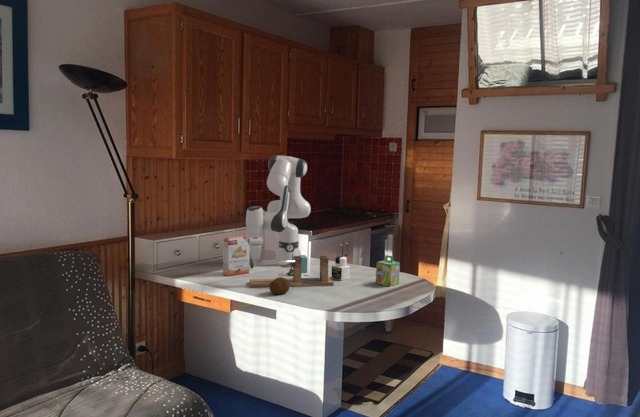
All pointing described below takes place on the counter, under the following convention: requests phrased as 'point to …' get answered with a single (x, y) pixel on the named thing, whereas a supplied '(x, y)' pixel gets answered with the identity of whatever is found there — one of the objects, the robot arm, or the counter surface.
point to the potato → (279, 285)
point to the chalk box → (387, 272)
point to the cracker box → (235, 255)
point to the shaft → (273, 263)
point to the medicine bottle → (340, 269)
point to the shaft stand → (297, 279)
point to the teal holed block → (303, 263)
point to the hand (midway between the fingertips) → (254, 265)
